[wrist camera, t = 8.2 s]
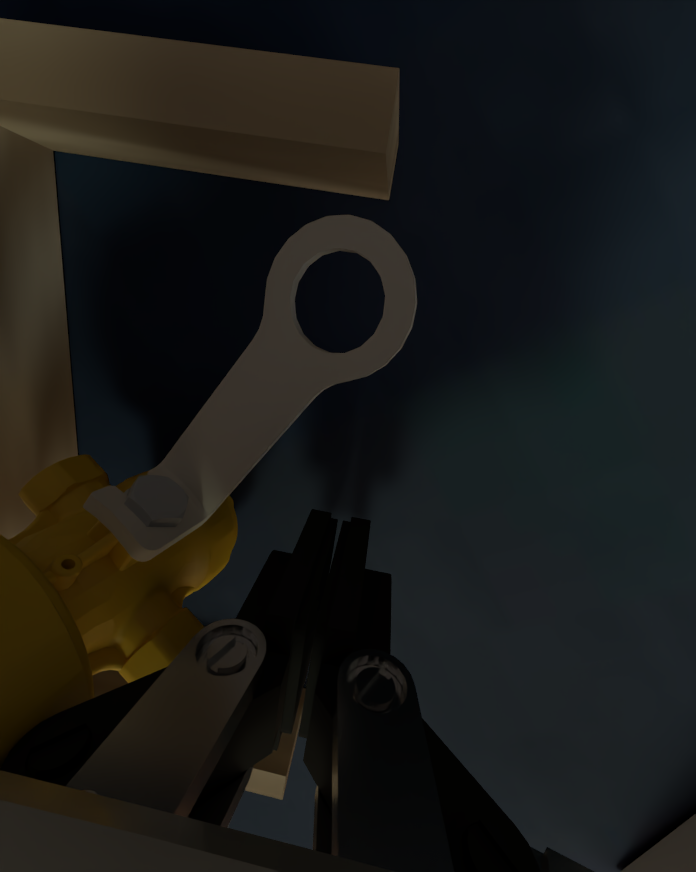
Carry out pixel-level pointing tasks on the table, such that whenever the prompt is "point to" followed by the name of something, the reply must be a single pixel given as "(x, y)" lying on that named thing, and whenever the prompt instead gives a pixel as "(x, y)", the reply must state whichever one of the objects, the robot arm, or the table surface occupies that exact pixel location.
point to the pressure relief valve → (170, 501)
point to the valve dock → (160, 146)
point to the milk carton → (670, 852)
